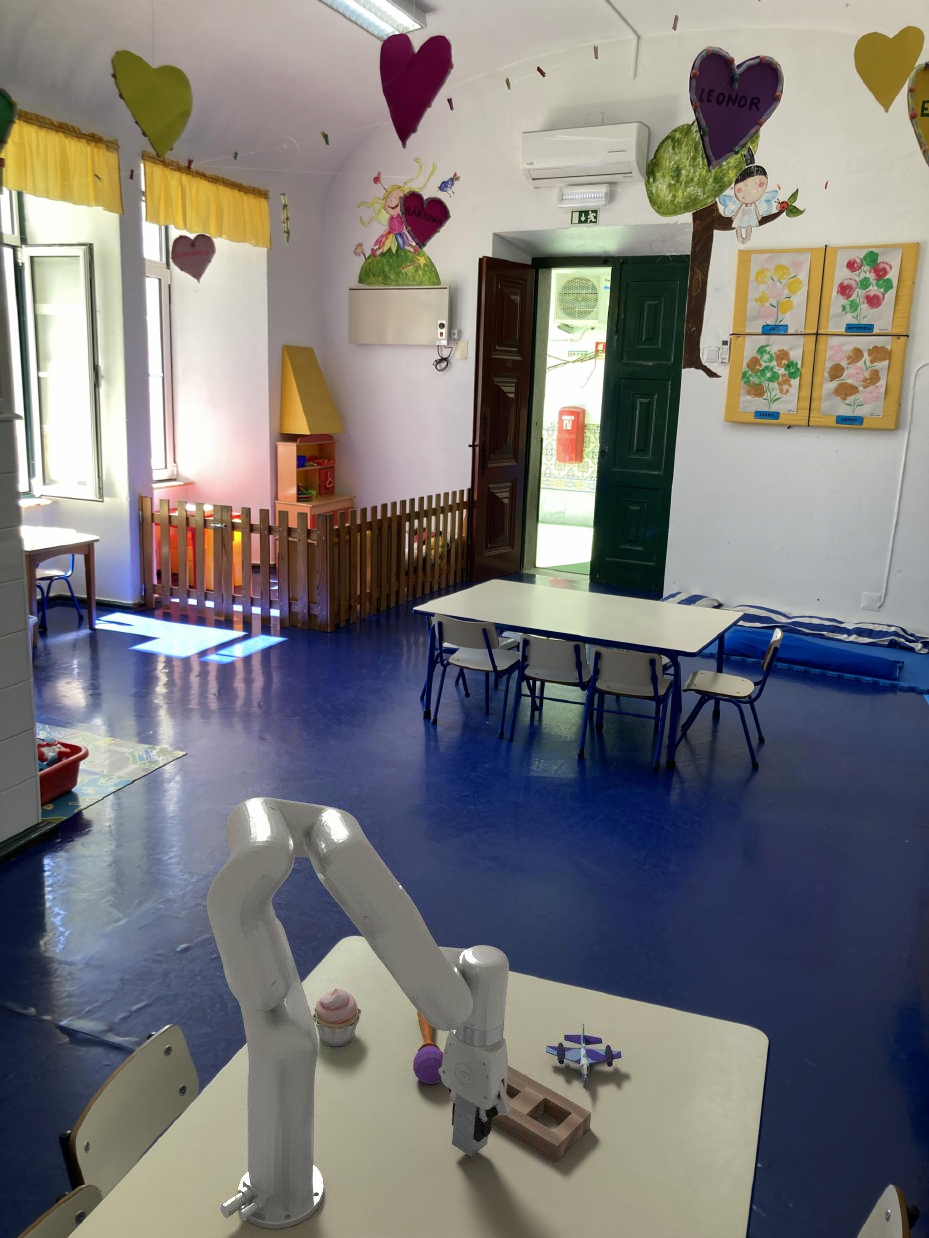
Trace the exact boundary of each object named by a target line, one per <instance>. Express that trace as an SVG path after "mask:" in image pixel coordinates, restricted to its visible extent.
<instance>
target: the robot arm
mask: <svg viewBox="0 0 929 1238" xmlns="http://www.w3.org/2000/svg"><path fill="white" fill-rule="evenodd" d="M225 835H226V836H225V837H226V842H227V845H228V849H229V855H230V857H229V859H228V860H227V862H225V864H224V865H223V867H222V868H221V869H220V870H219V871H218V872H217V874H216V875H215V877H214V878H213V880H212V883H211V884H210V886H209V889H208V892H207V896H206V911H207V917H208V920H209V924H210V926H211V930H212V933H213V935H214V939H215V943H216V947H217V949H218V952H219V956H220V958H221V962H222V967H223V972H224V976H225V979H226V982H227V985H228V988H229V989H230V991H231V993H232V995H233V997H235V998H236V1000H237V1001H238V1004H239V1007H240V1012H241V1015H242V1017H241V1018H242V1021H243V1026H244V1034H245V1040H246V1046H247V1055H248V1073H247V1075H248V1076H247V1094H246V1095H247V1172H246V1173H245V1175H244V1176H243V1177H242V1178H241V1180H240V1183H239V1185H238V1188H237V1193H236V1195H234V1196H233V1197H230V1198H229V1199H227V1200H225V1202H223V1203H222V1204H221V1205H220V1211H221V1214H222V1216H223V1217H224V1218H225V1219H228V1218H229V1217H231V1216H232V1215H234V1214H235V1213H236V1212H237V1211H239V1217H240V1220H242V1221H244V1222H245V1221H249V1222H251V1224H253V1225H255V1226H258V1227H262V1228H266V1229H283V1228H290V1227H292V1226H295V1225H298V1224H300V1223H302V1222H303V1221H305V1220H307V1219H308V1218H309V1217H311V1216H312V1215H313V1214H314V1213H315V1212H316V1210H317V1209H318V1208H319V1207H320V1205H321V1203H322V1200H323V1198H324V1190H325V1188H324V1187H325V1185H324V1179H323V1176H322V1173H321V1172H320V1170H319V1169H318V1167H316V1166H315V1165H314V1162H315V1161H314V1159H315V1158H314V1157H315V1155H314V1153H315V1152H314V1151H315V1148H314V1145H315V1143H314V1142H315V1081H316V1080H315V1079H316V1078H315V1077H316V1076H315V1075H316V1069H317V1068H316V1067H317V1061H318V1055H319V1043H318V1042H319V1041H318V1034H317V1027H316V1024H315V1022H314V1020H313V1018H312V1015H313V1014H312V1011H311V1009H310V1006H309V1002H308V1000H307V996H306V994H305V991H304V986H303V984H302V981H301V977H300V975H299V972H298V969H297V966H296V963H295V960H294V957H293V953H292V949H291V947H290V944H289V941H288V937H287V935H286V931H285V928H284V925H283V924H282V922H281V921H280V920H279V918H278V917H276V912H275V909H274V906H273V898H274V896H275V894H276V892H277V891H278V890H279V888H280V887H281V886H282V885H283V883H284V882H285V881H286V880H287V879H288V877H289V875H290V874H291V872H292V870H293V867H294V864H295V859H296V858H306V859H307V858H309V860H310V863H311V865H312V868H313V870H314V872H315V875H316V877H318V880H319V881H320V883H322V885H323V886H324V887H325V889H326V890H327V891H328V893H329V894H330V896H331V897H332V898H333V899H334V900H335V902H336V903H337V904H338V905H339V907H340V908H341V909H342V910H343V912H344V913H345V915H347V917H348V918H349V919H350V920H351V921H350V922H352V923H353V925H354V926H355V927H356V929H357V930H358V931H359V933H360V934H361V936H363V938H364V939H365V941H366V943H368V945H369V947H370V948H371V950H372V951H373V952H374V954H375V955H376V957H377V958H378V959H379V960H380V962H381V963H382V964H383V965H384V968H386V969H387V971H388V972H389V973H390V975H391V976H392V978H393V979H394V981H395V982H396V984H397V985H398V986H399V988H400V989H401V991H402V993H404V994H405V996H406V997H407V999H408V1000H409V1001H410V1003H411V1004H412V1005H413V1007H414V1008H415V1009H416V1011H417V1010H418V1012H419V1013H420V1014H421V1016H422V1017H423V1018H424V1019H425V1020H426V1022H427V1023H428V1024H429V1025H431V1026H432V1027H433V1029H436V1030H439V1031H443V1032H448V1035H447V1037H446V1042H445V1045H444V1050H443V1053H444V1054H443V1061H442V1066H441V1067H440V1068H439V1070H438V1072H439V1074H440V1075H441V1080H440V1081H441V1083H442V1084H443V1085H444V1086H446V1088H447V1090H448V1092H449V1094H450V1095H449V1100H450V1102H452V1110H451V1111H452V1112H451V1113H452V1114H451V1115H452V1117H451V1125H452V1126H453V1125H454V1112H455V1099H456V1093H457V1094H459V1095H460V1096H462V1097H463V1098H465V1099H467V1100H468V1101H470V1102H471V1103H473V1104H475V1105H476V1106H478V1107H479V1113H480V1117H479V1118H478V1119H477V1122H476V1134H475V1141H477V1142H480V1141H481V1140H482V1139H483V1138H485V1137H487V1136H488V1137H489V1136H490V1135H491V1132H492V1125H493V1123H492V1118H493V1117H495V1116H497V1115H499V1116H500V1115H507V1114H508V1113H509V1112H510V1111H511V1110H512V1107H511V1104H510V1102H509V1099H508V1096H507V1094H506V1090H507V1079H508V1066H509V1064H508V1063H509V1062H508V1061H509V1059H508V1049H507V1048H508V1047H507V1040H506V1038H505V1037H504V1028H505V1016H506V1015H505V1014H506V1005H507V994H508V993H507V992H508V981H509V973H510V972H509V971H510V963H509V959H508V957H507V955H506V954H505V952H504V951H502V950H501V949H499V948H497V947H494V946H492V945H486V944H485V945H484V944H482V945H481V944H479V945H474V946H472V947H468V948H458V947H447V946H438V944H437V943H436V942H437V941H435V939H434V937H433V936H432V934H431V932H430V930H429V929H428V927H427V925H426V923H425V921H424V919H423V917H422V915H421V912H419V909H418V908H417V905H415V902H414V901H413V900H412V898H411V897H410V896H409V894H408V892H407V891H406V890H405V888H404V887H403V886H402V885H401V883H400V882H399V881H398V880H397V878H396V877H395V876H394V874H393V873H392V871H391V870H390V869H389V867H388V866H387V865H386V863H385V862H384V860H383V859H382V858H381V856H380V855H379V854H378V852H377V851H376V849H375V848H374V846H373V845H372V844H371V843H370V841H369V840H368V837H366V834H365V833H364V832H363V829H362V827H361V825H360V823H359V821H357V819H356V818H355V816H353V815H352V814H351V813H349V812H348V811H346V810H342V809H340V808H337V807H332V806H328V805H320V804H315V803H309V802H308V803H307V802H302V801H301V802H300V801H294V800H288V799H287V800H286V799H282V798H275V797H267V796H265V797H263V796H262V797H252V798H248V799H245V800H243V801H241V802H240V803H239V804H237V805H236V806H235V807H234V808H233V809H232V810H231V811H230V813H229V815H228V817H227V821H226V823H225ZM496 1099H497V1101H498V1104H496Z"/></svg>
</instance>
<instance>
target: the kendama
mask: <svg viewBox="0 0 929 1238" xmlns="http://www.w3.org/2000/svg"><path fill="white" fill-rule="evenodd" d="M416 1011H417V1012H416V1014H417V1015H416V1016H417V1017H418V1022H419V1026H420V1030H421V1033H422V1036H423V1040H424V1043H423V1044H422V1045H421V1046H420V1047H419V1048H418V1050H417V1053H416V1054H415V1056H414V1059H413V1062H412V1063H413V1068H412V1069H413V1073H414V1075H415V1077H416V1078H417V1079H419V1081H420V1082H421V1083H424V1084H426V1085H429V1084H430V1085H433V1084H436V1083H438V1082H440V1081H442V1080H441V1075H440V1074H439V1072H438V1070H439V1068H440V1067H441V1066H442V1061H443V1054H444V1051H442V1050H441V1049H440V1047H439V1046H438V1045H437V1044H436V1043H434V1042H433V1041H432V1040H433V1030H434V1027H432V1026H431V1025H429V1024H428V1023H427V1022H426V1020H425V1019H424V1018H423V1017H422V1016H421V1014H420V1013H419V1012H418V1010H417V1009H416Z"/></svg>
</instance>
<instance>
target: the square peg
mask: <svg viewBox="0 0 929 1238" xmlns="http://www.w3.org/2000/svg"><path fill="white" fill-rule="evenodd" d="M479 1117H480V1113H479V1107H478V1106H476V1105H475V1104H473V1103H471V1102H470V1101H468V1100H467V1099H465V1098H463V1097H462V1096H460V1095H459V1094H457V1093H456V1099H455V1112H454V1125H452V1126H453V1127H452V1141H451V1145H452V1146H454V1147H456V1148H457V1149H458V1150H460V1151H461V1152H463V1153H464V1154H466V1155H467V1156H469V1157H471V1158H473V1157H474V1156H475V1155H476V1154H478V1153H479V1151H482V1149H483V1148H484V1147H485V1146H487V1145H488V1140H489V1135H488V1136H487V1137H485V1138H483V1139H482V1140H481V1141H480V1142H477V1141H475V1134H476V1122H477V1119H478V1118H479Z"/></svg>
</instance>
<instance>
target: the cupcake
mask: <svg viewBox="0 0 929 1238" xmlns="http://www.w3.org/2000/svg"><path fill="white" fill-rule="evenodd" d="M312 1010H313V1014H311V1015H312V1018H313V1021H314V1024H315V1027H316V1030H317V1032H318V1035H319V1036H318V1037H319V1040H320V1041H321V1042H322V1043H323V1044H324V1045H327V1046H330V1047H342V1046H345V1045H347V1044H349V1043H351V1041H352V1039H353V1038H354V1036H355V1034H356V1029H357V1026H358V1024H359V1022H360V1020H361V1014H362V1012H363V1010H362V1009H361V1008H359V1004H358V1003H357V1001H356V999H355V997H354V996H353V995H352V994H351V993H350V992H348V991H346V990H343V989H341V988H336V987H335V988H334V989H332V990H330V991H328V992H327V993H325V994H324V995H323V996H322V997H321V998H319V999H318V1000H317V1002H316V1004H315V1006H314V1007H313V1009H312Z"/></svg>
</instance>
